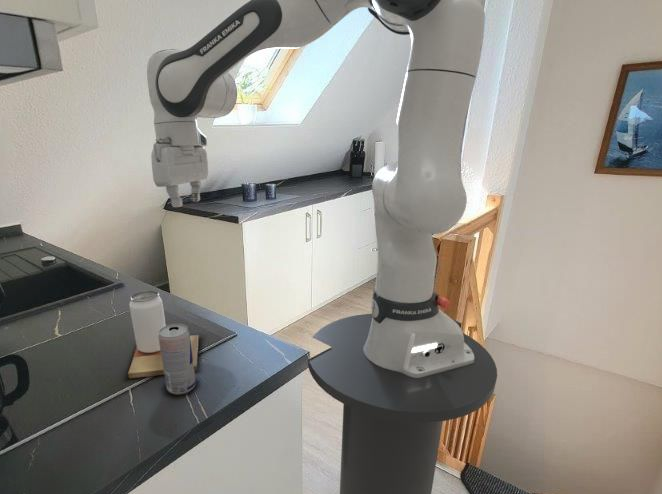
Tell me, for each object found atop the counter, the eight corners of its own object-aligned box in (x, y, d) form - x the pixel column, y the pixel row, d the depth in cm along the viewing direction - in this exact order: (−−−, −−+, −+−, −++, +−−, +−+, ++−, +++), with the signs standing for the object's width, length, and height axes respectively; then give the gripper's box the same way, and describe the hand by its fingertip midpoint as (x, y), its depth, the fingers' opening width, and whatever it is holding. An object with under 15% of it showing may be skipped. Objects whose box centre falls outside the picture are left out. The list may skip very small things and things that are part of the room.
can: (132, 346, 88) (122, 295, 83) (160, 335, 92) (152, 287, 87) (145, 357, 83) (135, 304, 79) (173, 346, 87) (166, 295, 83)
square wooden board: (198, 339, 92) (198, 334, 92) (196, 371, 81) (196, 365, 80) (139, 345, 91) (139, 340, 90) (129, 378, 79) (127, 372, 78)
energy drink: (195, 376, 79) (189, 321, 74) (196, 393, 74) (188, 335, 69) (167, 380, 78) (158, 325, 73) (165, 397, 73) (156, 339, 68)
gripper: (168, 136, 76) (179, 210, 80) (209, 138, 95) (216, 197, 99) (138, 138, 77) (150, 211, 82) (184, 140, 96) (192, 199, 101)
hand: (187, 203), depth 91 cm, fingers open, 8 cm apart
